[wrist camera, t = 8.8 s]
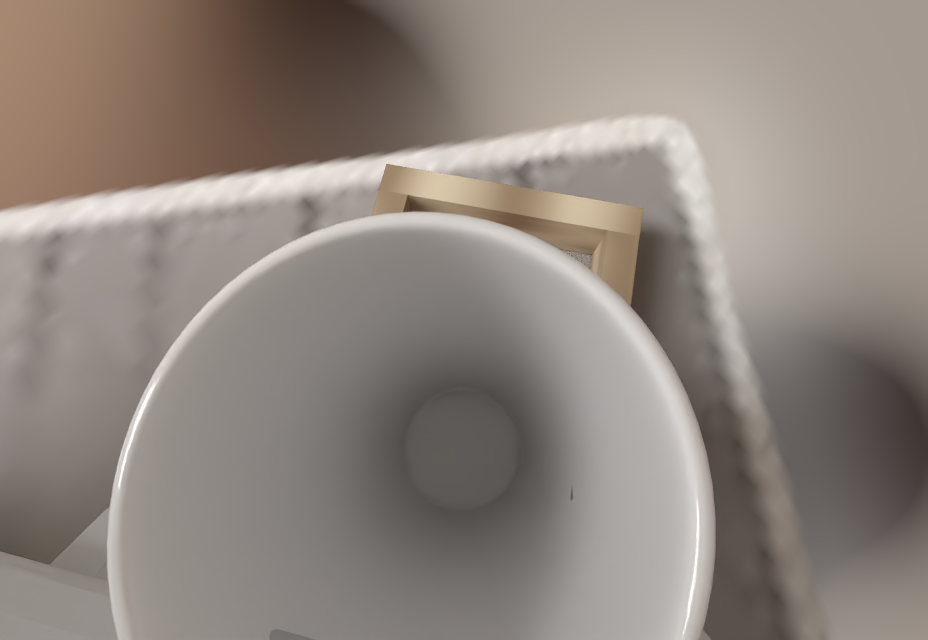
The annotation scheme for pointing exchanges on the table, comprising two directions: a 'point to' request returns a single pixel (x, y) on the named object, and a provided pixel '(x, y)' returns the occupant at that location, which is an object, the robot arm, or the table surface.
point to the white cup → (413, 452)
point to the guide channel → (526, 216)
